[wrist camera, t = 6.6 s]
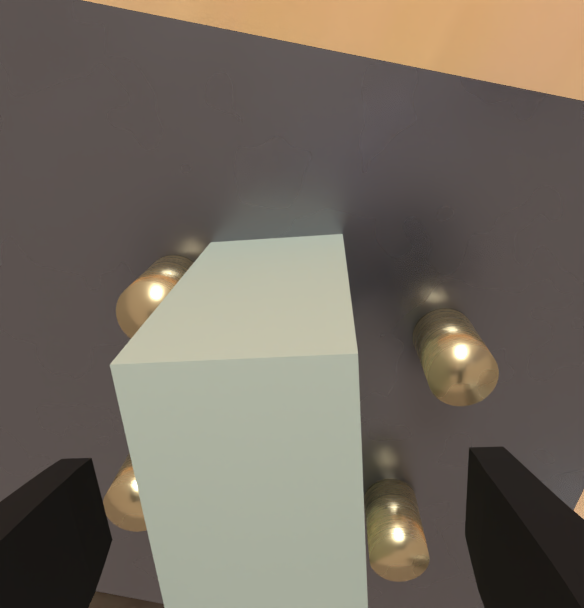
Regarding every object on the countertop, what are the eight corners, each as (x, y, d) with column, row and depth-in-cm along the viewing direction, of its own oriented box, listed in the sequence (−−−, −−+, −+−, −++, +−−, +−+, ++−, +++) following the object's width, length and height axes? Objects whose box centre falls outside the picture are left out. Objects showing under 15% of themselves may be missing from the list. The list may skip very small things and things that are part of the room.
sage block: (342, 234, 12) (357, 353, 6) (355, 517, 15) (374, 775, 9) (210, 242, 12) (110, 364, 6) (248, 518, 15) (201, 772, 9)
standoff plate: (721, 133, 11) (849, 142, 9) (487, 636, 17) (519, 739, 14) (-5, -13, 11) (-114, -51, 8) (6, 545, 17) (-57, 632, 14)
